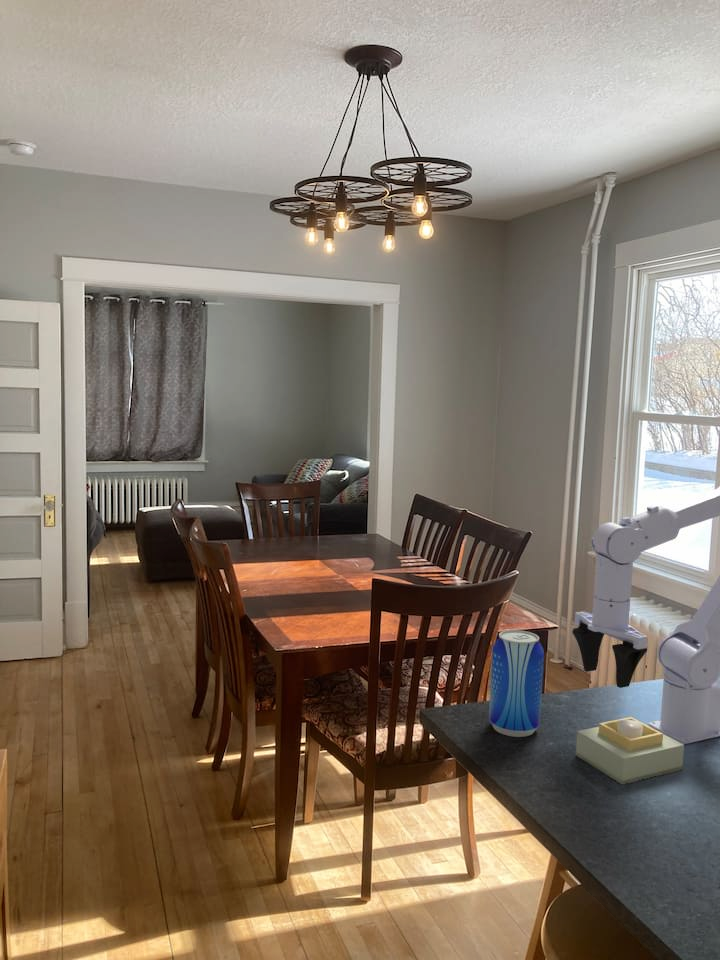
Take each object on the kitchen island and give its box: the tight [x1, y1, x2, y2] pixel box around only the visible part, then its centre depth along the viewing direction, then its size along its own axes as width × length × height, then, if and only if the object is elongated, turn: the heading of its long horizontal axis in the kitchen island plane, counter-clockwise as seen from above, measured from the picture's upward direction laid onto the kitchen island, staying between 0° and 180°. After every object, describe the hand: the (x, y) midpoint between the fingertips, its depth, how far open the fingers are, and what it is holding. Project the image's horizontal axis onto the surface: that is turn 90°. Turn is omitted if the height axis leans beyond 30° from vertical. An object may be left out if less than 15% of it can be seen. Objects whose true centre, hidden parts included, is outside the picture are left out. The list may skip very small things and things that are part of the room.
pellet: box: [617, 720, 643, 739], centre depth 123 cm, size 4×4×6 cm
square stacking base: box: [575, 716, 685, 786], centre depth 123 cm, size 12×10×6 cm
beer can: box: [488, 629, 545, 738], centre depth 134 cm, size 8×8×16 cm
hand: (606, 678), depth 132 cm, fingers open, 7 cm apart
